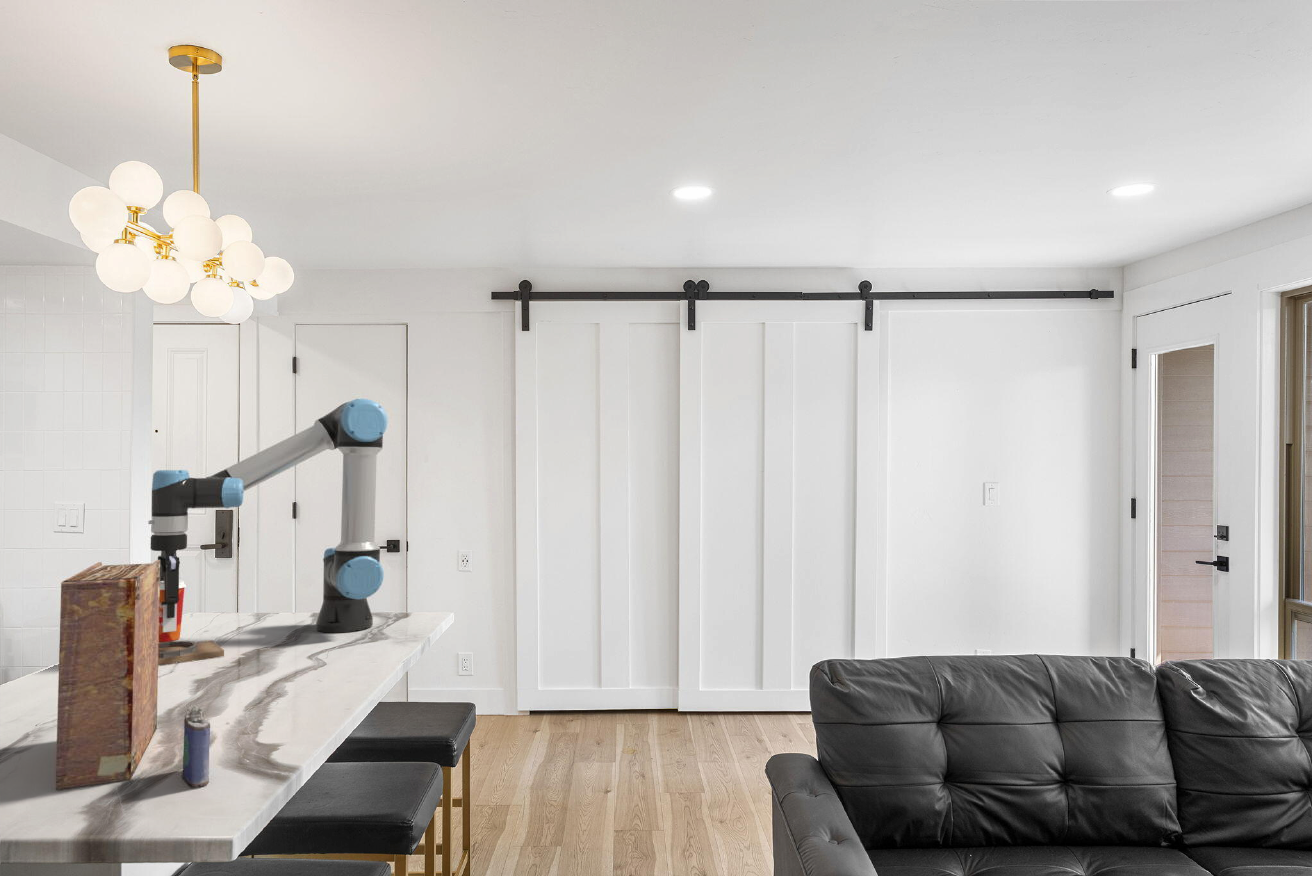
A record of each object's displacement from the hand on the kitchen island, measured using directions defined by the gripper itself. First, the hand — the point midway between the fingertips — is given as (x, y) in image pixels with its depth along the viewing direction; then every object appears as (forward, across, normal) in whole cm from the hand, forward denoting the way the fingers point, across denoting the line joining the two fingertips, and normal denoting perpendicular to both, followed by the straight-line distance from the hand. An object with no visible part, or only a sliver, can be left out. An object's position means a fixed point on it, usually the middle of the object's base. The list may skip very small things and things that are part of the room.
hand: (166, 628), depth 188 cm
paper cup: (+3, 0, 0) cm, 3 cm away
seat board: (+7, 0, 0) cm, 7 cm away
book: (+7, +67, -17) cm, 70 cm away
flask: (+7, +86, -9) cm, 87 cm away
